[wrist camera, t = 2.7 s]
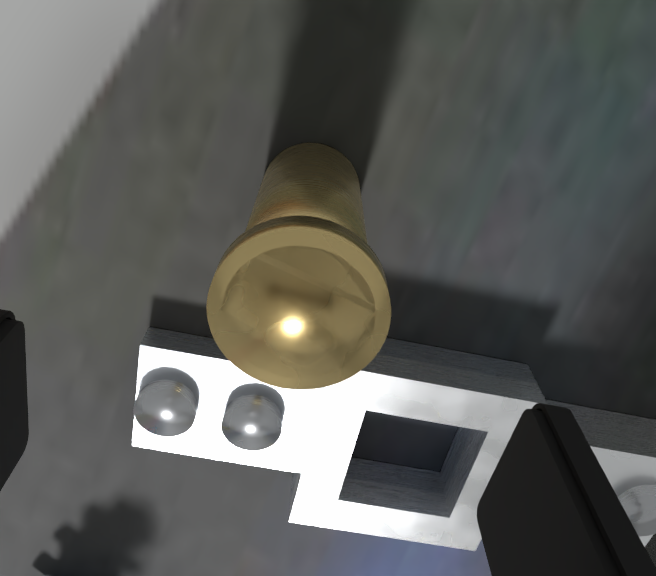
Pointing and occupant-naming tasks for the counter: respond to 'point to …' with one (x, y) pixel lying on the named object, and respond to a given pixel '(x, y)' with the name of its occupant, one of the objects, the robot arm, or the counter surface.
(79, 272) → the counter surface
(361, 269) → the pin
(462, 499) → the white studded link plate
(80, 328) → the counter surface
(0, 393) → the robot arm
